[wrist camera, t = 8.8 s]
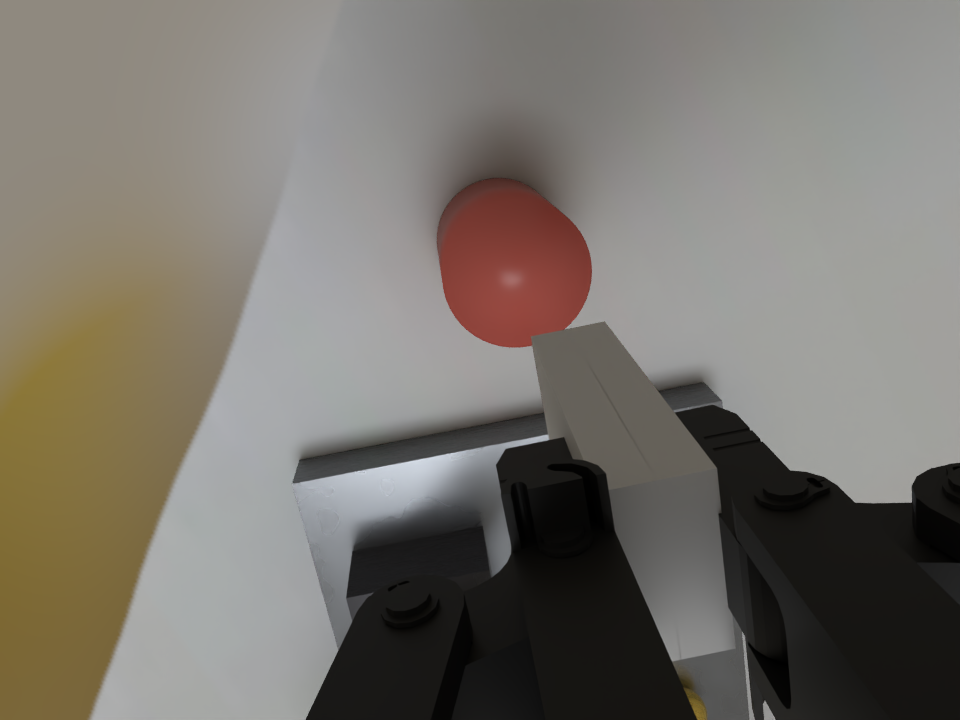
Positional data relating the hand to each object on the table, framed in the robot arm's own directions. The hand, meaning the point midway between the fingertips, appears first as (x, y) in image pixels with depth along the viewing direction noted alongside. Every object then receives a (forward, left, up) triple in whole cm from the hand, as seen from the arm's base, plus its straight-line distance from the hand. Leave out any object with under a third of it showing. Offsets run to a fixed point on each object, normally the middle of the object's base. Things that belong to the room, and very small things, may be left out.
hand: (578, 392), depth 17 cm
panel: (+18, -1, -14) cm, 23 cm away
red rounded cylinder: (-1, 0, -14) cm, 14 cm away
